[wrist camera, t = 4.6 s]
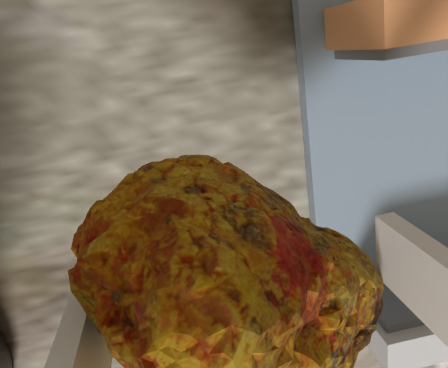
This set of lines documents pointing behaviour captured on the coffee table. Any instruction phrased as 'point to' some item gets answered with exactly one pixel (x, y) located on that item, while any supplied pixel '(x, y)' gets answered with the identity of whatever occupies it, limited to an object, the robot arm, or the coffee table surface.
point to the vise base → (375, 160)
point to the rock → (219, 274)
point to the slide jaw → (386, 29)
